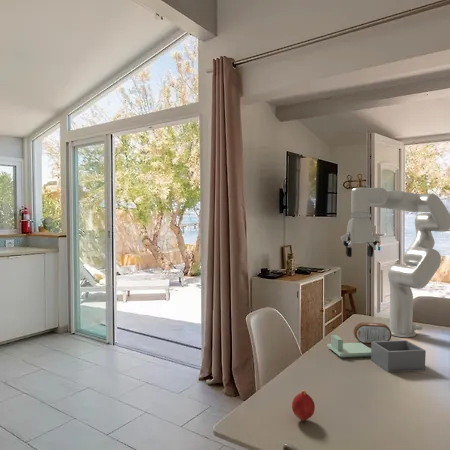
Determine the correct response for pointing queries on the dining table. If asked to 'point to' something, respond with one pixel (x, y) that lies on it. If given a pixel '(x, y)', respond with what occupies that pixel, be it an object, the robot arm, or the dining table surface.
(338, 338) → the lid
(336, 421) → the dining table surface
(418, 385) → the dining table surface
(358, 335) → the tin
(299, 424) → the dining table surface
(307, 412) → the onion
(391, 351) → the tub
